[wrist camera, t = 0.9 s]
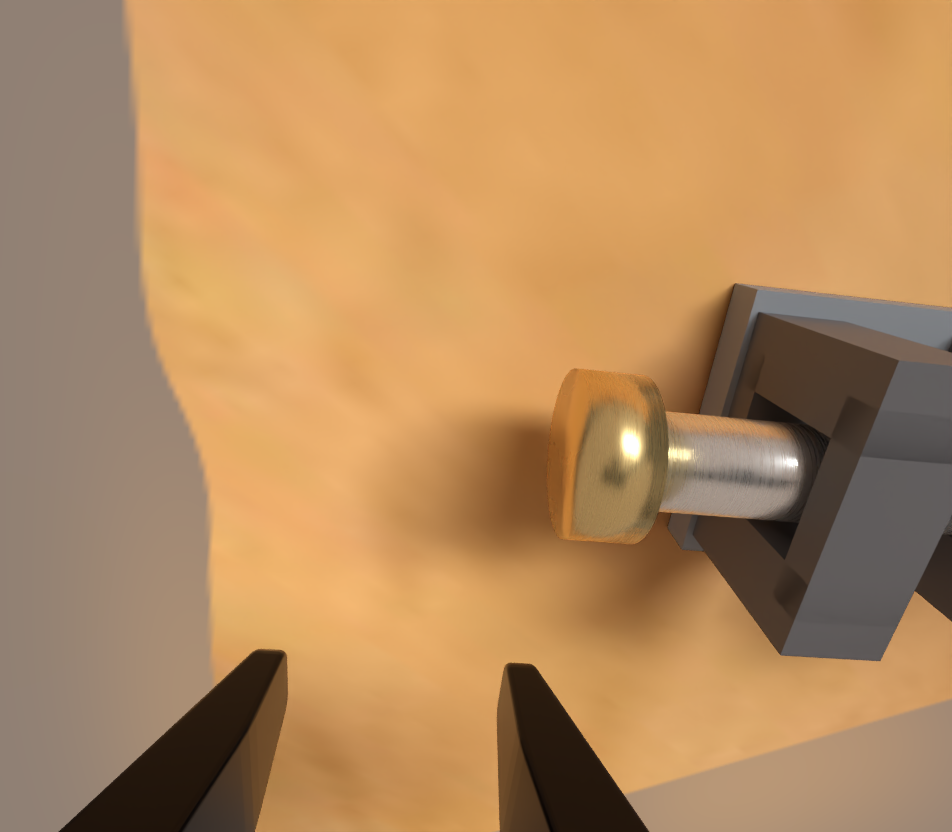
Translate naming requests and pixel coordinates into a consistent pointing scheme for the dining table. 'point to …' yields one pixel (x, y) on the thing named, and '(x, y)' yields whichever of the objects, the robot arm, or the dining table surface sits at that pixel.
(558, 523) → the shaft
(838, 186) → the dining table surface
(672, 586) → the dining table surface
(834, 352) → the bearing bracket
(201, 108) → the dining table surface
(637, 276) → the dining table surface
